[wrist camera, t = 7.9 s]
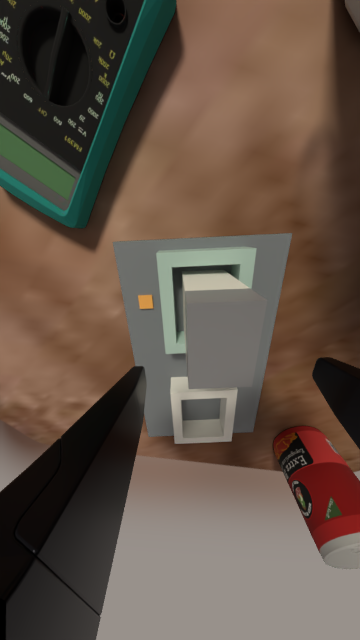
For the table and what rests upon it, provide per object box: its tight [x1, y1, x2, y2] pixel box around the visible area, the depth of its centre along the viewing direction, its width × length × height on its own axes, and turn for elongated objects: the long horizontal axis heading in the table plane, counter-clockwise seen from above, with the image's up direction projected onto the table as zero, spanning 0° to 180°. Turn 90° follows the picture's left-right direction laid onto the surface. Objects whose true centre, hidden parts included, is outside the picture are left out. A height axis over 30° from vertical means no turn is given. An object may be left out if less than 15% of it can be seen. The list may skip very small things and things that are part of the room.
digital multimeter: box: [0, 0, 176, 228], centre depth 11 cm, size 7×15×3 cm, turn 146°
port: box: [156, 247, 257, 354], centre depth 15 cm, size 7×8×2 cm
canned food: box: [273, 426, 360, 569], centre depth 23 cm, size 8×8×11 cm
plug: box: [182, 270, 267, 389], centre depth 12 cm, size 4×5×8 cm
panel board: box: [113, 233, 292, 437], centre depth 20 cm, size 14×24×2 cm, turn 3°
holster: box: [170, 377, 238, 444], centre depth 21 cm, size 7×8×2 cm
